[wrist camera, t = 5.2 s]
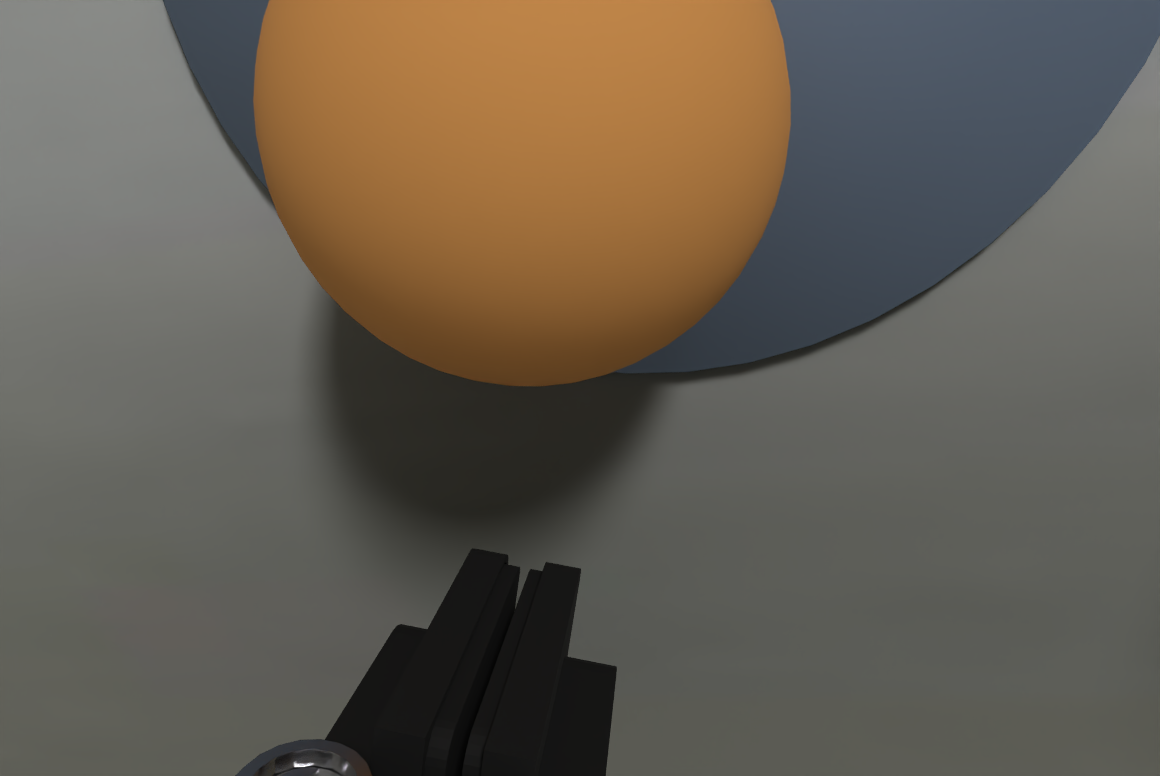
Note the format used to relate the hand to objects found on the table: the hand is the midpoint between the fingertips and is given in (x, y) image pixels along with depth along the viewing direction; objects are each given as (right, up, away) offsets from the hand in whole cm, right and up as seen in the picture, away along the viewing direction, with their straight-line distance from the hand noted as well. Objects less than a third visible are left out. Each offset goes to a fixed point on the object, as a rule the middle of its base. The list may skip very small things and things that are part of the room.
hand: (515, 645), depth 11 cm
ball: (0, +7, -3) cm, 7 cm away
